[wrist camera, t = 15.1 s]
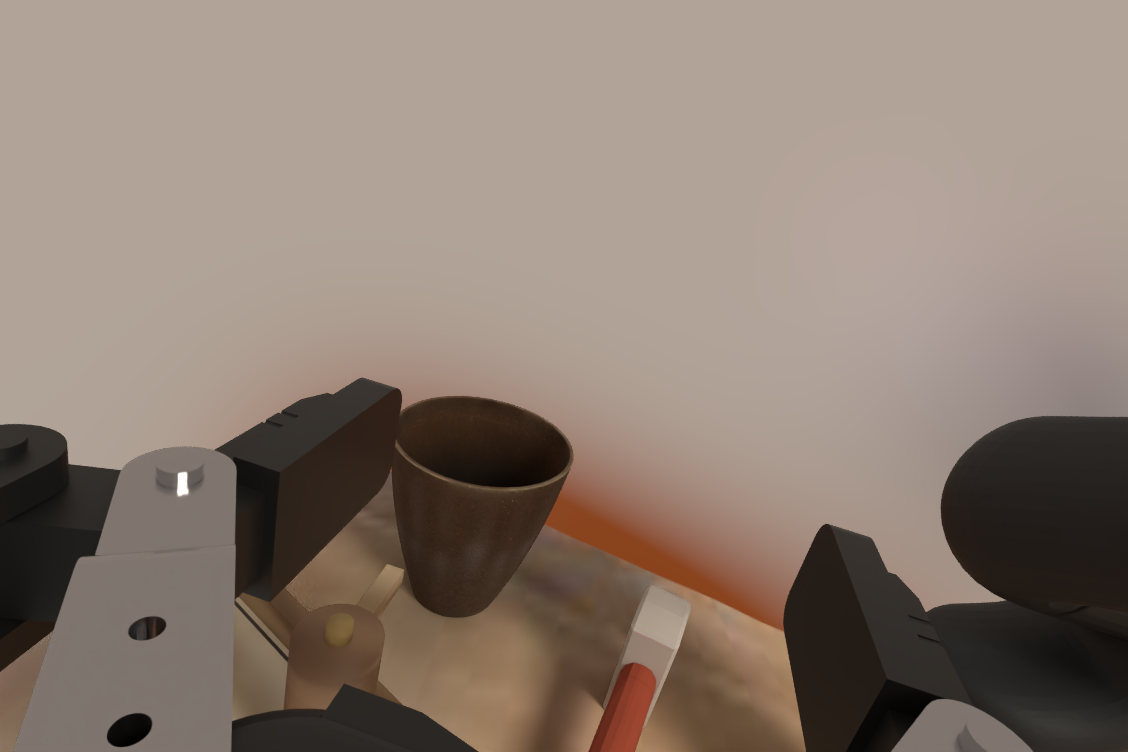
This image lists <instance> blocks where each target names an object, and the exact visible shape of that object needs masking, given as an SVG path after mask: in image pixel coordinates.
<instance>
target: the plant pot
mask: <svg viewBox="0 0 1128 752" xmlns="http://www.w3.org/2000/svg"><path fill="white" fill-rule="evenodd" d="M573 457H574V455H573V450H572V446H571V444H570V442H569V441H568V439H567V438H566V436H565V435H564V434H563V433H562V432H561V431H560V430H559V429H558V428H557V427H556V426H554V425H553V424H551V423H550V422H549V421H547V420H546V419H544V418H542V417H540V416H539V415H537V414H535V413H533V412H530V411H528V410H526V409H523V408H521V407H518V406H515V405H512V404H509V403H505V402H501V401H497V400H492V399H487V398H480V397H470V396H446V397H437V398H431V399H426V400H422V401H419V402H417V403H414V404H412V405H410V406H408V407H407V408H405V409H404V410H402V411H401V412H400V417H399V424H398V430H397V437H396V444H395V450H394V457H393V462H392V484H393V496H394V505H395V513H396V520H397V527H398V533H399V538H400V543H401V547H402V552H403V556H404V560H405V564H406V568H407V572H408V575H409V578H410V582H411V585H412V588H413V591H414V593H415V596H416V598H417V599H418V601H419V602H420V603H421V604H422V605H423V606H424V607H426V608H427V609H428V610H430V611H432V612H434V613H436V614H439V615H442V616H447V617H467V616H471V615H475V614H477V613H479V612H481V611H483V610H484V609H485V608H486V607H488V605H489V604H490V603H491V602H492V601H493V600H494V598H495V597H496V596H497V595H498V594H499V592H500V591H501V590H502V589H503V587H504V586H505V585H506V583H507V582H508V581H509V579H510V578H511V577H512V575H513V574H514V572H515V571H516V570H517V568H518V567H519V565H520V564H521V562H522V561H523V559H524V558H525V556H526V554H527V553H528V551H529V550H530V548H531V546H532V545H533V543H534V541H535V540H536V538H537V536H538V534H539V533H540V531H541V529H542V527H543V525H544V524H545V521H546V519H547V518H548V516H549V514H550V512H551V510H552V508H553V506H554V504H555V502H556V500H557V498H558V495H559V493H560V491H561V489H562V486H563V484H564V482H565V480H566V477H567V475H568V473H569V470H570V468H571V466H572V463H573Z"/></svg>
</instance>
